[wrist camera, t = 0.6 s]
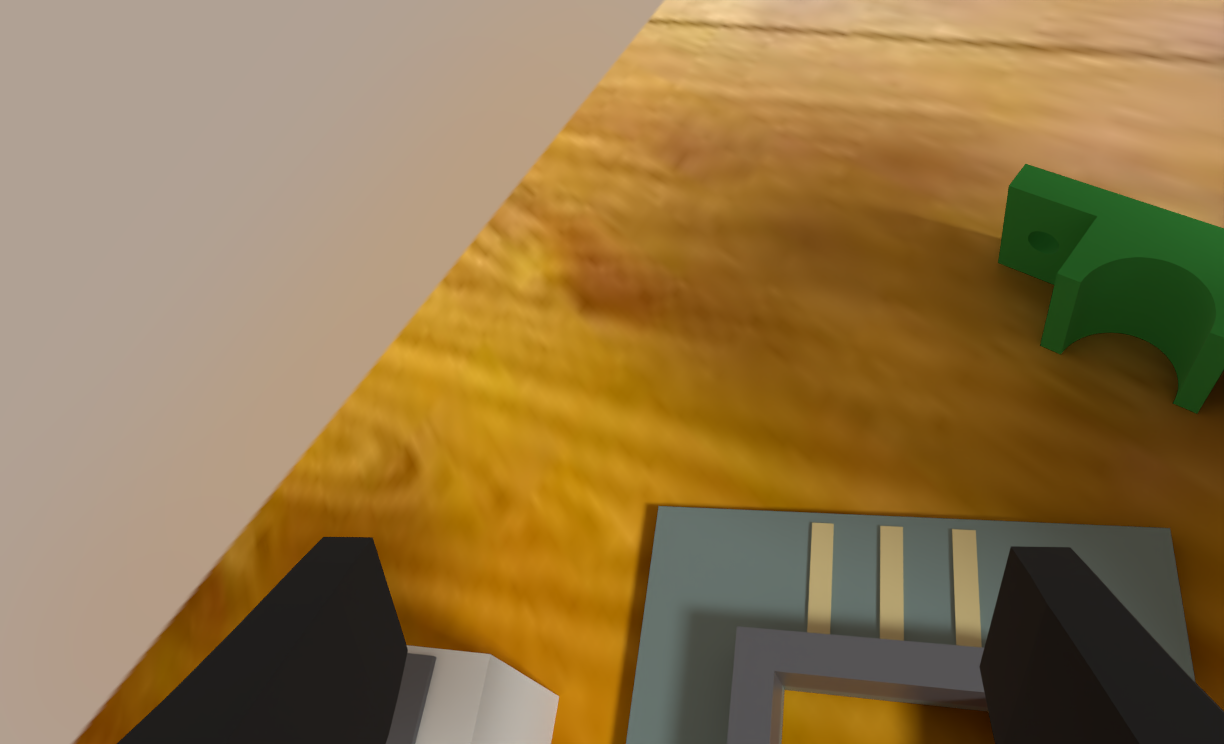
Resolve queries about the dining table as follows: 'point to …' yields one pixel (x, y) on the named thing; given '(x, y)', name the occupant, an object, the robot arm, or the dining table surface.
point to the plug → (469, 701)
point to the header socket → (849, 611)
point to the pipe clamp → (1121, 272)
